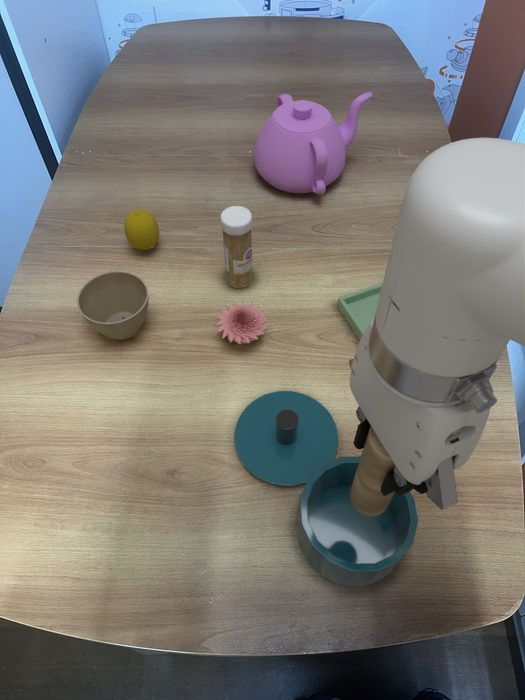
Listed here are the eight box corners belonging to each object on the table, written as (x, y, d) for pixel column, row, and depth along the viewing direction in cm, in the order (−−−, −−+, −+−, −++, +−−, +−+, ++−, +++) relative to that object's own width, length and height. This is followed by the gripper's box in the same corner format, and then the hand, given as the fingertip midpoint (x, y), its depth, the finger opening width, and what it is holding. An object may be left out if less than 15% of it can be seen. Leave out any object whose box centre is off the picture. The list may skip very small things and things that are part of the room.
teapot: (386, 191, 101) (401, 123, 89) (277, 219, 96) (279, 151, 85) (337, 127, 112) (345, 59, 101) (238, 148, 108) (235, 81, 97)
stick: (396, 507, 54) (429, 447, 43) (361, 523, 54) (385, 466, 42) (376, 472, 57) (402, 407, 45) (342, 487, 56) (360, 424, 44)
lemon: (152, 263, 90) (144, 226, 84) (124, 254, 91) (113, 218, 85) (168, 241, 93) (160, 204, 87) (140, 233, 94) (130, 196, 88)
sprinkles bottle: (247, 292, 86) (245, 229, 75) (221, 285, 87) (215, 221, 76) (257, 272, 89) (256, 208, 78) (231, 265, 90) (227, 201, 79)
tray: (458, 353, 80) (462, 345, 78) (386, 381, 77) (389, 374, 75) (403, 282, 88) (406, 274, 86) (336, 306, 85) (338, 297, 83)
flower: (272, 354, 80) (273, 331, 75) (218, 361, 79) (215, 339, 74) (264, 313, 84) (264, 289, 79) (213, 319, 83) (210, 295, 79)
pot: (423, 559, 63) (440, 541, 57) (326, 605, 60) (333, 592, 54) (369, 465, 70) (379, 440, 63) (280, 503, 67) (281, 481, 61)
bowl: (139, 360, 79) (129, 331, 73) (78, 344, 81) (63, 314, 75) (166, 309, 85) (158, 278, 79) (108, 295, 86) (96, 264, 80)
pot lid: (355, 464, 70) (362, 445, 65) (258, 505, 67) (258, 488, 62) (309, 381, 77) (312, 359, 72) (220, 415, 74) (217, 394, 69)
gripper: (577, 433, 29) (475, 533, 44) (410, 238, 38) (372, 376, 53) (461, 486, 28) (396, 571, 43) (316, 270, 37) (304, 403, 52)
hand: (383, 462), depth 48 cm, fingers closed on stick, 4 cm apart
